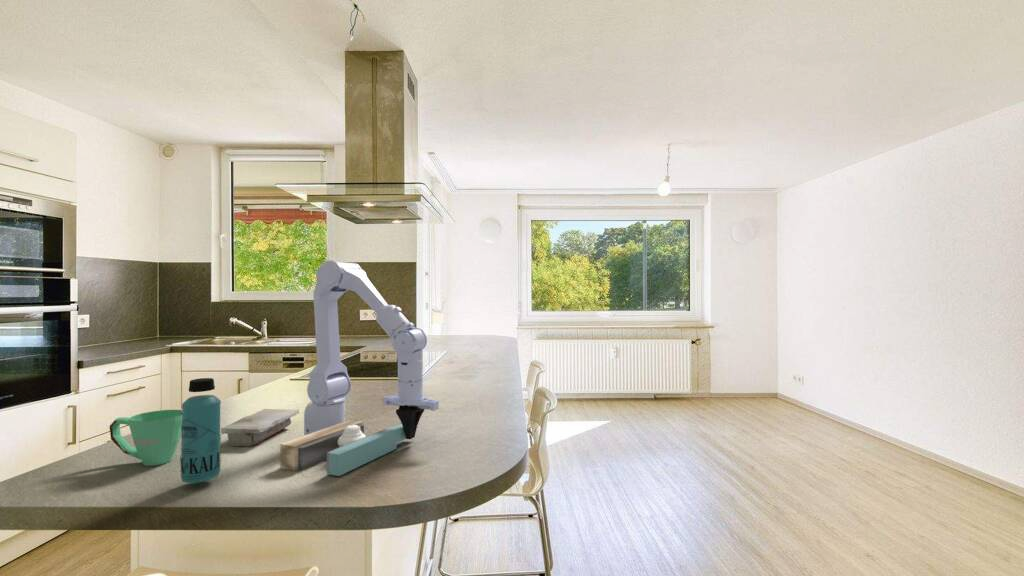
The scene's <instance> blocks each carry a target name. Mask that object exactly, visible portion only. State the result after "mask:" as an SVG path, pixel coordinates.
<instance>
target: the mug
mask: <svg viewBox="0 0 1024 576" xmlns="http://www.w3.org/2000/svg"><path fill="white" fill-rule="evenodd" d="M121 425H126V426H128V427H129V430H130V433H131V437H132V440H133V444H134V447H135V448H134V447H132V446H131V444H129V442H128V441H127V440H126V439H125V438H124V436H123V435H121V427H120V426H121ZM181 426H182V409H163V410H154V411H149V412H143V413H138V414H135V415H132V416H130V417H124V416H123V417H121V416H120V417H117V418H115V419H114V420H113V421H112V422H111V424H109V432H110V433H109V434H110V440H111V441H112V442H113V443H114V444H115V445H116V446H117V447H118V448H119V449H120V450H121V451H122V452H123V453H124V454H126V455H128V456H130V457H133V458H135V459H138V460H140V461H141V462H142V464H143V466H146V467H152V466H153V467H154V466H160V465H164V464H167V463H169V462H171V461H172V459H173V457H174V455H175V452H176V450H177V448H178V444H179V441H180V439H181V436H182V435H181V431H182V430H181Z"/></svg>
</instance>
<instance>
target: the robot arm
mask: <svg viewBox="0 0 1024 576" xmlns="http://www.w3.org/2000/svg"><path fill="white" fill-rule="evenodd" d="M315 274H316V275H315V278H316V283H315V285H314V290H313V295H312V296H313V313H314V326H315V327H314V328H315V329H314V331H315V346H316V347H315V349H316V365H315V366H314V367H313V369H312V370H311V371H310V372H309V379H308V380H309V381H308V384H307V388H306V392H307V396H308V399H309V400H310V402H308V403H307V405H306V407H305V409H304V413H303V419H304V420H303V423H304V425H303V426H304V427H303V428H304V430H303V434H304V435H303V436H305V435H308V434H311V433H313V432H316V431H319V430H322V429H325V428H328V427H331V426H334V425H337V424H340V423H343V422H345V421H346V399H347V395H348V394H349V393H350V391H351V389H352V381H351V378H350V376H349V373H348V367H347V366H346V365H345V364H344V363H343V362H342V361H341V346H340V345H341V343H340V328H339V326H340V325H339V311H338V310H339V309H338V300H339V299H340V298H341V296H343V295H344V294H345V293H346V292H348V291H353V292H355V293H356V294H357V295H358V297H360V298H361V299H362V300H363V301H364V303H366V305H368V307H369V308H370V309H371V310H372V311H373V312H374V313H375V314H376V315H375V321H376V322H377V323H378V325H379V326H380V328H382V330H384V333H386V334H387V336H389V338H390V339H391V340H392V347H393V350H394V352H395V354H396V360H397V395H386V396H383V397H382V405H383V406H397V407H398V408H397V409H395V414H396V416H397V417H398V419H399V420H400V424H401V423H402V426H403V429H404V432H405V436H406V439H405V440H412V439H415V437H416V432H417V428H418V425H419V422H420V419H421V418H422V415H423V413H424V412H425V410H430V411H432V412H435V411H436V410H437V411H438V410H439V406H440V405H439V402H440V401H439V400H437V399H430V398H428V397H427V398H426V397H424V396H423V394H424V393H423V391H424V390H423V386H424V385H423V376H424V375H423V371H424V370H423V362H424V361H423V356H424V355H423V353H424V349H425V348H426V347H427V343H428V340H427V335H426V333H425V332H424V330H423V329H422V328H419V327H415V324H414V323H413V322H410V321H409V319H408V318H407V317H406V316H405V315H404V314H403V313H402V312H403V309H402V308H401V307H400V306H396V305H395V304H388V302H387V301H386V300H385V299H384V297H383V296H382V295H381V293H380V292H379V291H378V290H377V288H376V287H375V286H374V284H373V283H372V282H371V280H370V279H369V277H368V276H367V272H366V271H365V270H364V269H363V268H362V267H361V266H360V264H358V263H356V262H353V261H351V262H346V261H345V262H344V261H335V260H326V261H324V262H323V263H322V264H321V265H320V266H319V267H317V269H316V270H315Z"/></svg>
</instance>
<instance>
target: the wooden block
mask: <svg viewBox="0 0 1024 576" xmlns="http://www.w3.org/2000/svg"><path fill="white" fill-rule="evenodd" d="M363 423H364V422H363V421H361V420H360V421H359V420H352V419H350V420H349V419H348V420H345V422H343V423H340V424H337V425H334V426H331V427H328V428H325V429H322V430H319V431H316V432H313V433H311V434H308V435H305V436H304V435H302V436H299V437H297V438H293V439H291V440H288V441H284V442H282V443H280V444H279V452H280V453H279V454H280V456H279V457H280V458H279V462H280V464H279V465H280V466H279V469H282V470H287V471H290V472H291V471H292V472H296V471H298V470H299V471H305V470H308V469H309V468H312V467H314V466H316V465H319V464H321V463H323V461H324V462H327V452H329V451H332V450H334V449H337V448H339V445H338V439H339V438H340V437H341V436H342V434H343V432H344V429H345V428H346V427H347V426H350V425H357V426H359V427H360V429H361V431H362V433H363V434H365V425H363Z"/></svg>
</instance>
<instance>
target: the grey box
mask: <svg viewBox="0 0 1024 576" xmlns="http://www.w3.org/2000/svg"><path fill="white" fill-rule="evenodd" d="M299 414H300V409H299V408H298V409H297V408H295V409H285V408H284V409H280V408H278V409H276V408H275V409H273V408H264V409H262V410H260V411H257V412H254V413H252V414H251V415H247V416H244V417H242V418H240V419H238V420H236V421H234V422H232V423H230V424H228V425H225V426H223V427H220V435H224V434H227V439H228V441H227V443H228V446H232V447H251V446H255V445H257V444H260V443H261V442H262V441H264V440H265V439H267V438H268V439H269V437H271V436H273V435H275V434H276V433H278V432H280V431H282V430H284V429H286V428H287V427H288V426H290V425H291V424H292V420H291V418H292V417H294V416H297V415H299Z"/></svg>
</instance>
